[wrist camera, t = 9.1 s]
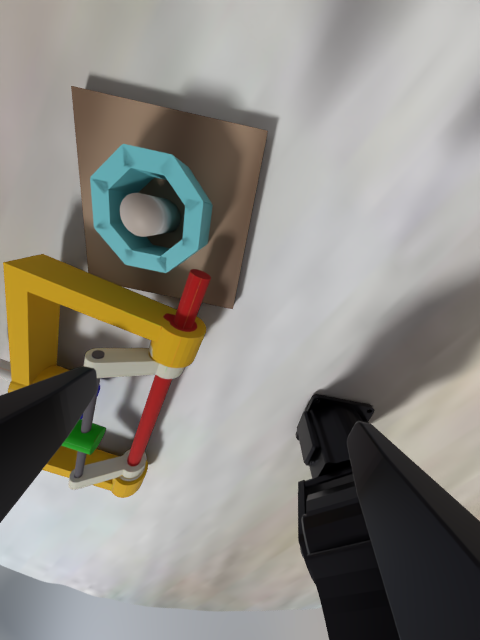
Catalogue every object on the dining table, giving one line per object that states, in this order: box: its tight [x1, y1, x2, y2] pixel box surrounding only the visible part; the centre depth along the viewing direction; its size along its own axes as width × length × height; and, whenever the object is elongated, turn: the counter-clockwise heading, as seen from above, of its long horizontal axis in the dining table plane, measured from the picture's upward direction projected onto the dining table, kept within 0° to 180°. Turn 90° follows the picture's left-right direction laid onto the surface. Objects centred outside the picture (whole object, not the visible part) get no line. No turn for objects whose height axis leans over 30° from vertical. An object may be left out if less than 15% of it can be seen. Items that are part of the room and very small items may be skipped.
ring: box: [90, 144, 213, 273], centre depth 15 cm, size 6×6×3 cm
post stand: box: [71, 86, 268, 309], centre depth 15 cm, size 12×12×5 cm
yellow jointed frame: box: [0, 254, 211, 498], centre depth 20 cm, size 18×6×30 cm
